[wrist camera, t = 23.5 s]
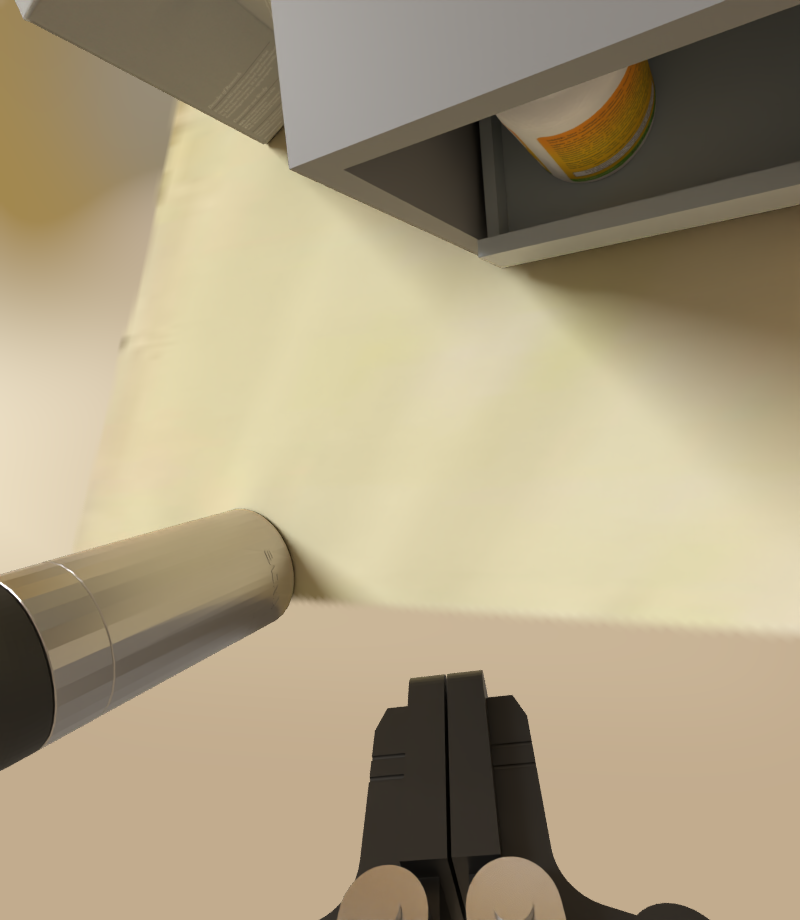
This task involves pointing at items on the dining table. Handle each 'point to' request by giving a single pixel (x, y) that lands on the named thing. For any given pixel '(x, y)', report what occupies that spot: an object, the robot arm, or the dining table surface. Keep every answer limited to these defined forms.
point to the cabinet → (452, 85)
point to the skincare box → (182, 51)
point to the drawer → (665, 153)
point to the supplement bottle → (588, 124)
